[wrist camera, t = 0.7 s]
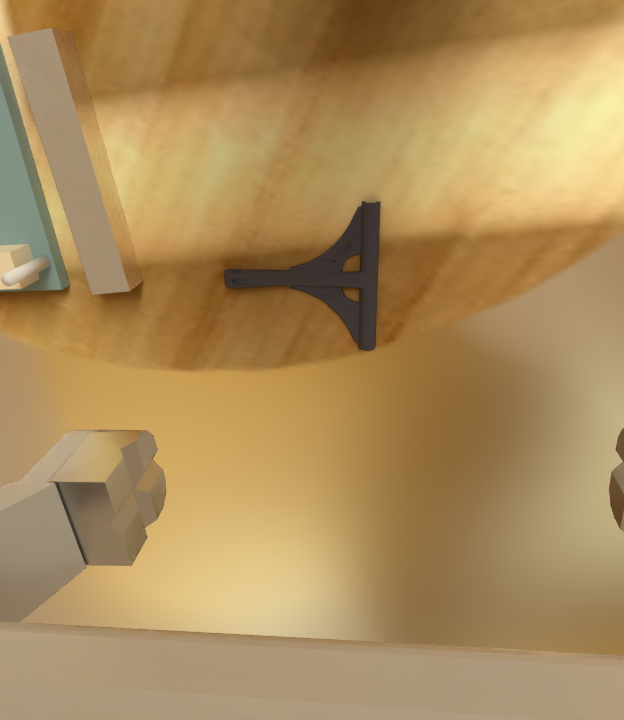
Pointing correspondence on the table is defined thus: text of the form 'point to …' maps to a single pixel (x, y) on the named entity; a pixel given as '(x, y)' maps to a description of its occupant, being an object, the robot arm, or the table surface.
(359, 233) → the bracket
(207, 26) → the table surface
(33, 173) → the rack
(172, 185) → the table surface
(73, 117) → the long grey flat plank
